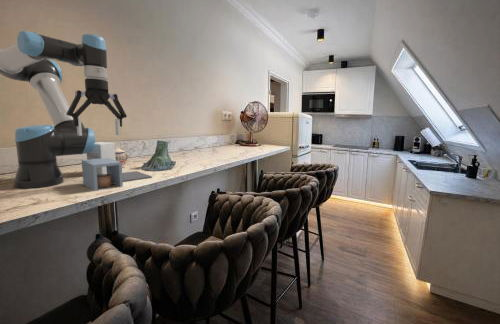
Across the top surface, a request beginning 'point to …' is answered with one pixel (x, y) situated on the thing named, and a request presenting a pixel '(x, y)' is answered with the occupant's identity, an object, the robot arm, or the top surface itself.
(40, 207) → the top surface
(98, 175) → the bowl
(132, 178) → the mat
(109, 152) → the supplement box
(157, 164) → the tree stump
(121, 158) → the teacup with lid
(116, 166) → the blue-grey hollow block
